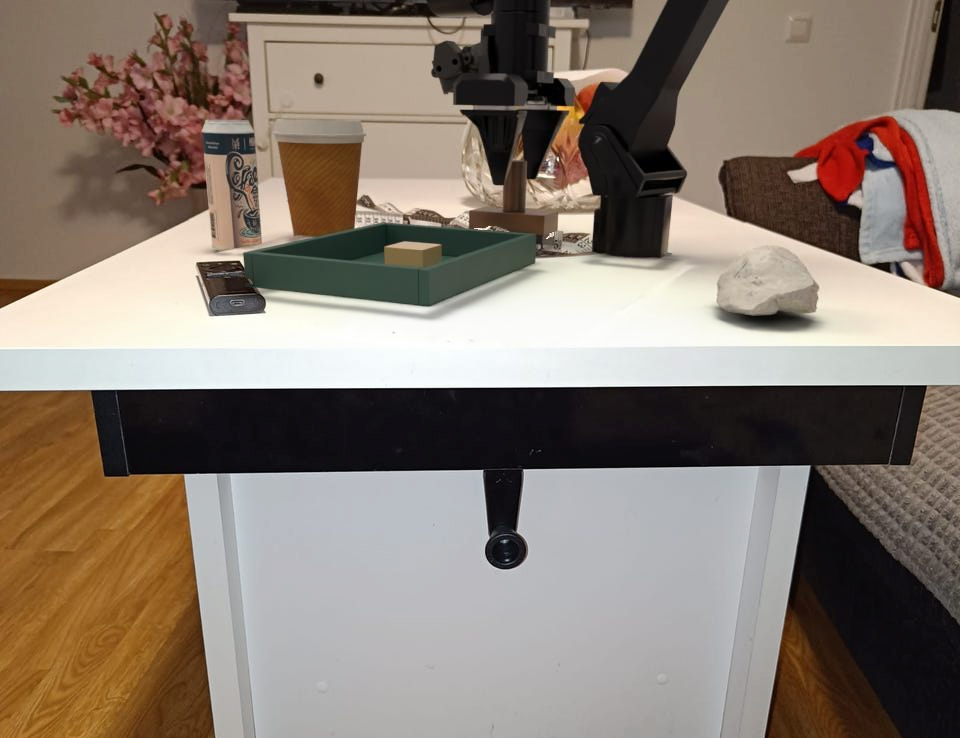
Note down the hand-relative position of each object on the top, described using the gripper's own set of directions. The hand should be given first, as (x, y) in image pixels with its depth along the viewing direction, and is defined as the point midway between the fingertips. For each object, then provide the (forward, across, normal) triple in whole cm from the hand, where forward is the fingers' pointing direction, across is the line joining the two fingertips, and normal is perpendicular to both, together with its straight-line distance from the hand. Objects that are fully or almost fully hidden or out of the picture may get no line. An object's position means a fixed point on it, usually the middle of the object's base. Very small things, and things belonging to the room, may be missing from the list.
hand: (515, 182), depth 96 cm
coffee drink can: (+6, +18, -22) cm, 29 cm away
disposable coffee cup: (+6, +7, -19) cm, 21 cm away
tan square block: (+6, +23, 0) cm, 24 cm away
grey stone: (+7, +24, +29) cm, 38 cm away
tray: (+6, +25, 0) cm, 26 cm away
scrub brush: (+6, 0, 0) cm, 6 cm away
